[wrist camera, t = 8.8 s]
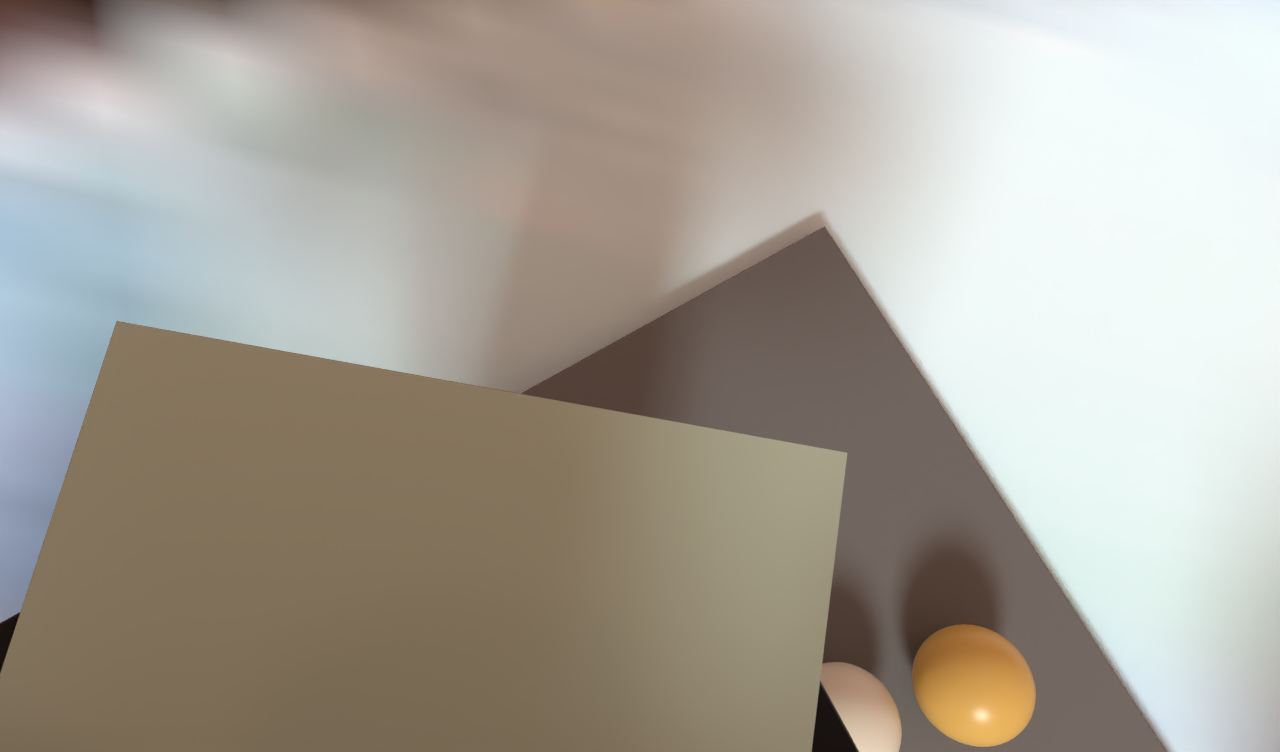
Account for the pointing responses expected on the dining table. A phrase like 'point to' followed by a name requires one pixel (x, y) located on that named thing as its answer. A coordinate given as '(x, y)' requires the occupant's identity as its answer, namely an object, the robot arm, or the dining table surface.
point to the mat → (871, 486)
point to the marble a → (863, 707)
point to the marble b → (973, 685)
